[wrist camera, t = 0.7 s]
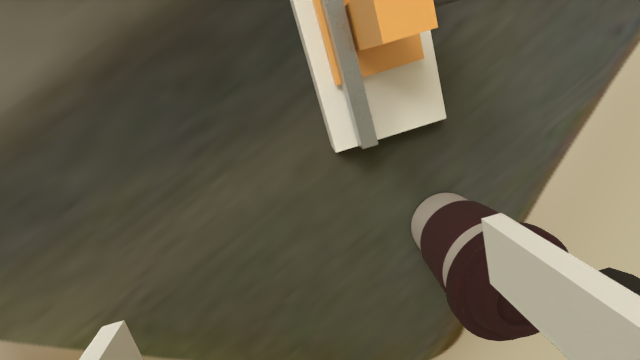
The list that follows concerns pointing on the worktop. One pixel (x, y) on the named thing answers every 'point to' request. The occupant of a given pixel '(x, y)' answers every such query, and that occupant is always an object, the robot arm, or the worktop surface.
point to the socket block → (372, 87)
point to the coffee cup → (468, 265)
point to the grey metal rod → (349, 71)
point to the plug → (383, 32)
